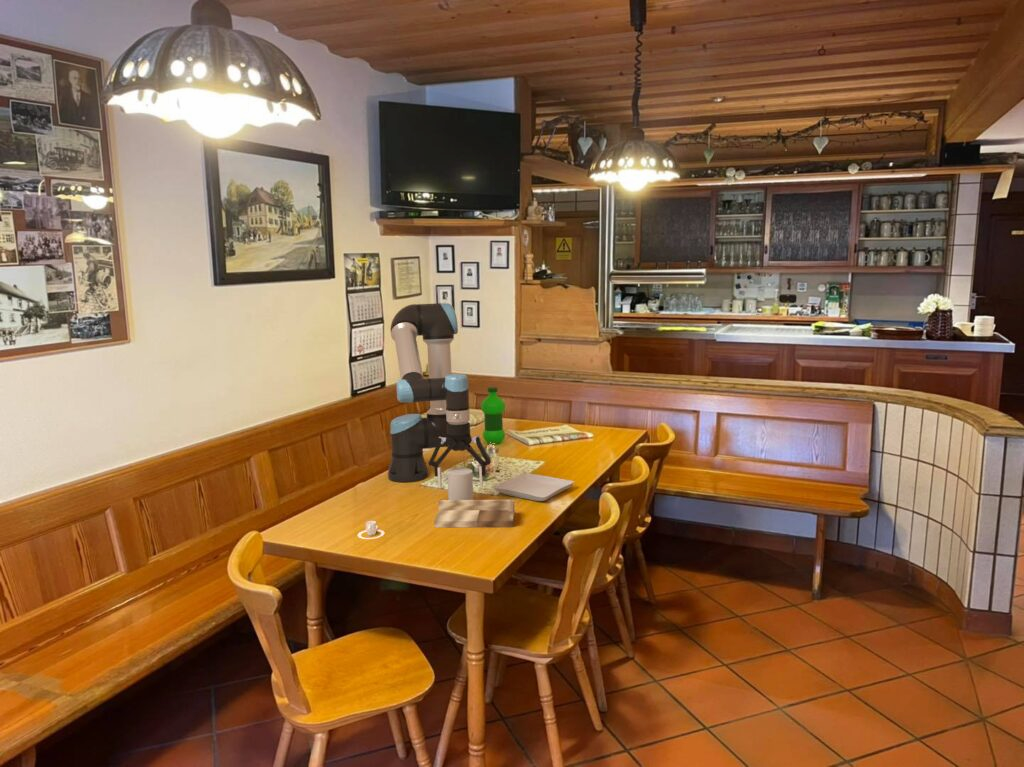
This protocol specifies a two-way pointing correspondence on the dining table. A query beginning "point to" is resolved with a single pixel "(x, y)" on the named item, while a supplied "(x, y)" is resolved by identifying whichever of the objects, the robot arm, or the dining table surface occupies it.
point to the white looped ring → (371, 530)
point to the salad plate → (533, 486)
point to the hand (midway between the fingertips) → (460, 485)
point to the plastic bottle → (493, 417)
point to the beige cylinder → (460, 484)
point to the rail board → (475, 513)
